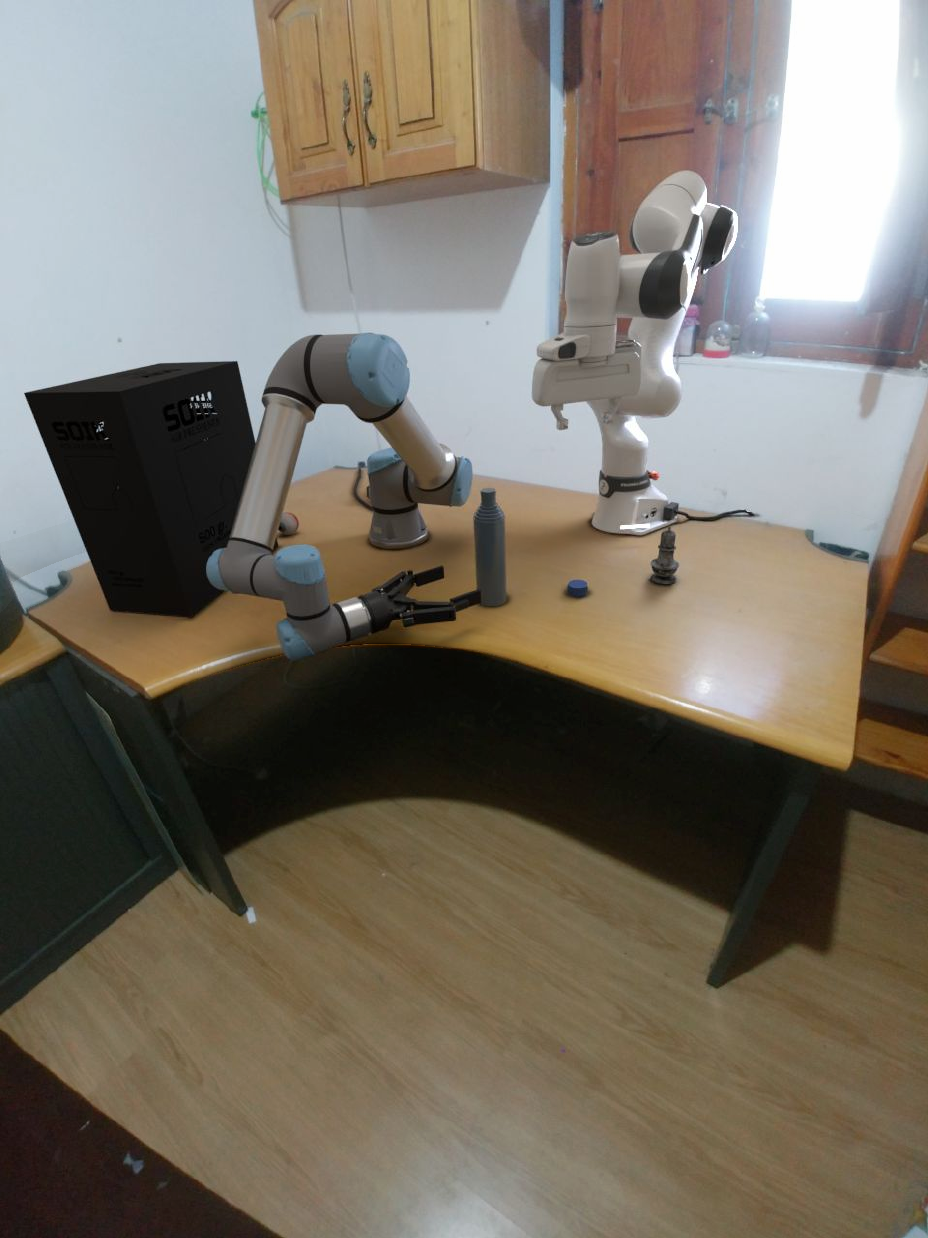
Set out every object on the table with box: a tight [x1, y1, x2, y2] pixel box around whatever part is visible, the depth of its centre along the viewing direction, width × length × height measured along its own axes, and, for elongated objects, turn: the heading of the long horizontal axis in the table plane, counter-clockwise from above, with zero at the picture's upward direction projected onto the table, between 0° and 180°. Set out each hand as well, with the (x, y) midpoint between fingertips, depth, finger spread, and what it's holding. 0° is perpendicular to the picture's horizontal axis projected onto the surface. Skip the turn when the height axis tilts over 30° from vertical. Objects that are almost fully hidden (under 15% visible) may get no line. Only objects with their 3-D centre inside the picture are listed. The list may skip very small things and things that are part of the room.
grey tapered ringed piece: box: [649, 526, 680, 585], centre depth 128 cm, size 6×6×12 cm
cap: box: [567, 579, 589, 598], centre depth 127 cm, size 4×4×2 cm
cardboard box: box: [23, 360, 279, 618], centre depth 133 cm, size 38×20×45 cm, turn 167°
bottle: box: [472, 487, 508, 608], centre depth 121 cm, size 6×6×24 cm
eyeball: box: [278, 511, 300, 536], centre depth 163 cm, size 6×6×6 cm
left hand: (461, 583), depth 120 cm, fingers open, 13 cm apart
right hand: (585, 426), depth 110 cm, fingers open, 8 cm apart
